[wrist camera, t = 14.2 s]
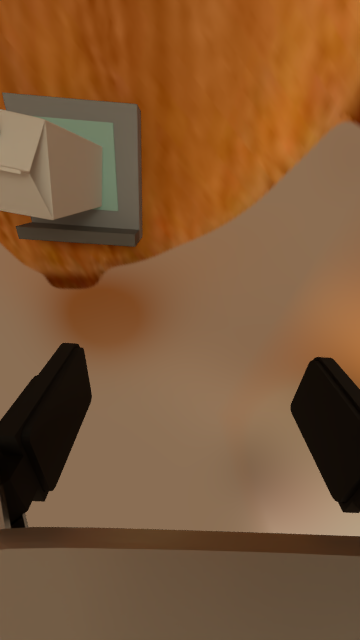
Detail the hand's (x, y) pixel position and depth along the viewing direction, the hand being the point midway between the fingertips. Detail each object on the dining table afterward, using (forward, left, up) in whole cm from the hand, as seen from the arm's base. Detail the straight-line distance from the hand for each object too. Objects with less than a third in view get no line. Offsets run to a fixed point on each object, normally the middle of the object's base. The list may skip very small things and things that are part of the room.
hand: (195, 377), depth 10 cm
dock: (-7, -15, -33) cm, 37 cm away
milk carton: (-7, -15, -30) cm, 35 cm away
